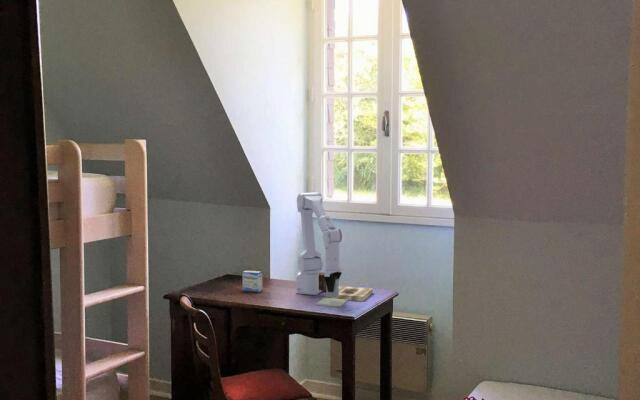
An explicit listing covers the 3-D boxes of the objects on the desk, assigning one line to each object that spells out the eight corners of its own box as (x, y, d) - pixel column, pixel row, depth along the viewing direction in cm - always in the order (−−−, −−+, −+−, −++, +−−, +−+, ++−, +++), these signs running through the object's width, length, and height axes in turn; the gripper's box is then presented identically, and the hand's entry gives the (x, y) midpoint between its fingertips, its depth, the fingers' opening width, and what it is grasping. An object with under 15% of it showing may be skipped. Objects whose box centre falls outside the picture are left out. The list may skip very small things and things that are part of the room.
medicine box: (242, 291, 315) (242, 271, 314) (246, 288, 320) (246, 269, 319) (258, 292, 313) (258, 272, 312) (262, 290, 317) (262, 270, 316)
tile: (316, 305, 289) (316, 303, 289) (324, 299, 299) (324, 297, 299) (340, 307, 286) (340, 305, 286) (347, 301, 296) (347, 299, 296)
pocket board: (326, 298, 301) (326, 293, 301) (337, 290, 316) (337, 286, 316) (362, 301, 296) (362, 296, 295) (372, 293, 311) (372, 288, 310)
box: (329, 288, 319) (329, 272, 318) (323, 291, 314) (323, 275, 313) (317, 287, 322) (317, 271, 321) (311, 290, 317) (311, 274, 316)
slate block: (326, 296, 291) (326, 279, 290) (329, 294, 295) (329, 278, 294) (335, 297, 290) (335, 280, 289) (338, 295, 293) (338, 278, 293)
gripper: (336, 261, 283) (336, 295, 284) (346, 255, 296) (346, 287, 298) (319, 260, 285) (319, 294, 286) (330, 254, 299) (330, 286, 300)
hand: (332, 290), depth 292 cm, fingers closed on slate block, 4 cm apart
